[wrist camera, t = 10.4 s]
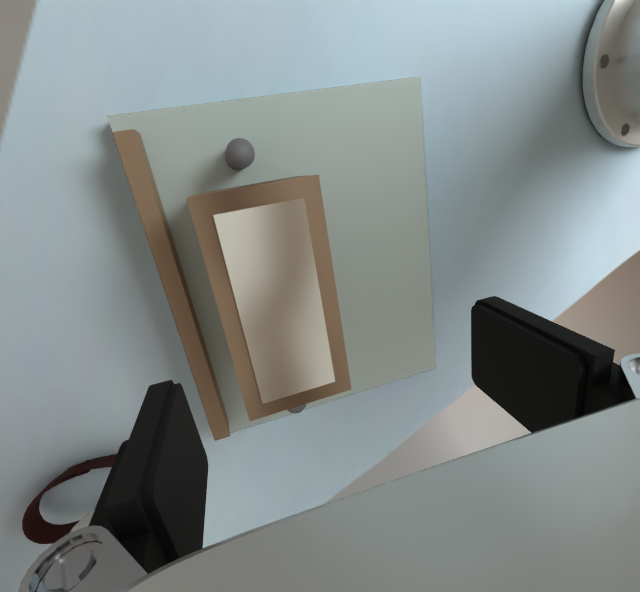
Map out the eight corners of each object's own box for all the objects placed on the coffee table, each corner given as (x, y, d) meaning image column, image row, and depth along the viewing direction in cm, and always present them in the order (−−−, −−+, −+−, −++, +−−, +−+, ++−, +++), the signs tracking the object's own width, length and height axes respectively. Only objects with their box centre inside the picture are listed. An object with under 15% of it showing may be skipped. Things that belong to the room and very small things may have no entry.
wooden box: (294, 176, 21) (319, 174, 16) (325, 348, 26) (352, 390, 20) (193, 194, 20) (186, 198, 15) (242, 372, 24) (249, 422, 19)
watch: (60, 527, 26) (36, 579, 22) (18, 484, 24) (-14, 533, 21) (162, 478, 27) (154, 520, 23) (129, 433, 25) (116, 472, 22)
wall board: (410, 81, 23) (449, 61, 19) (427, 361, 30) (458, 387, 26) (113, 119, 19) (87, 104, 15) (214, 427, 26) (214, 469, 23)
